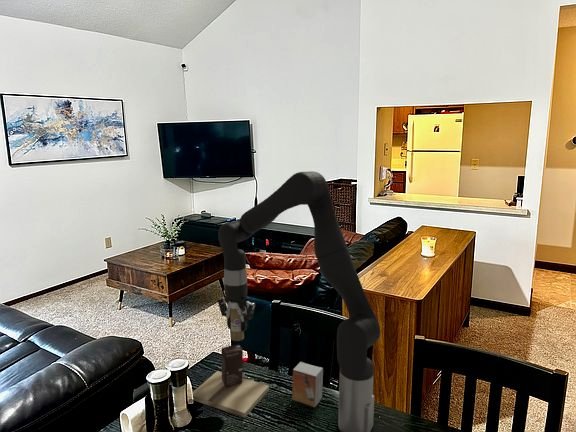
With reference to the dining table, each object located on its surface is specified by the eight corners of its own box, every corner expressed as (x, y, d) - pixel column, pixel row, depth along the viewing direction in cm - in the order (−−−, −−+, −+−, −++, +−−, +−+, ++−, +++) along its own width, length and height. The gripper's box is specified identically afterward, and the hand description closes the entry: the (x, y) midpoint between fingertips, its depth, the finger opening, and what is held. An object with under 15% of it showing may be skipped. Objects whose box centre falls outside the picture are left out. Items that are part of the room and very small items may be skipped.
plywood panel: (269, 389, 136) (269, 385, 135) (245, 417, 122) (244, 412, 122) (217, 374, 144) (217, 370, 144) (189, 399, 131) (189, 394, 131)
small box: (291, 400, 131) (292, 369, 129) (299, 390, 135) (300, 360, 133) (315, 408, 127) (315, 376, 125) (322, 398, 132) (323, 367, 130)
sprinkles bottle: (233, 342, 139) (231, 304, 137) (229, 336, 143) (227, 299, 141) (246, 340, 141) (245, 302, 138) (242, 334, 145) (241, 297, 143)
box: (225, 388, 134) (225, 353, 132) (221, 380, 138) (220, 347, 135) (243, 383, 137) (243, 349, 134) (238, 376, 141) (238, 343, 138)
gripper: (260, 280, 139) (261, 328, 142) (223, 274, 145) (225, 321, 148) (248, 287, 132) (249, 338, 135) (211, 281, 138) (213, 330, 141)
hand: (237, 329), depth 141 cm, fingers closed on sprinkles bottle, 4 cm apart
